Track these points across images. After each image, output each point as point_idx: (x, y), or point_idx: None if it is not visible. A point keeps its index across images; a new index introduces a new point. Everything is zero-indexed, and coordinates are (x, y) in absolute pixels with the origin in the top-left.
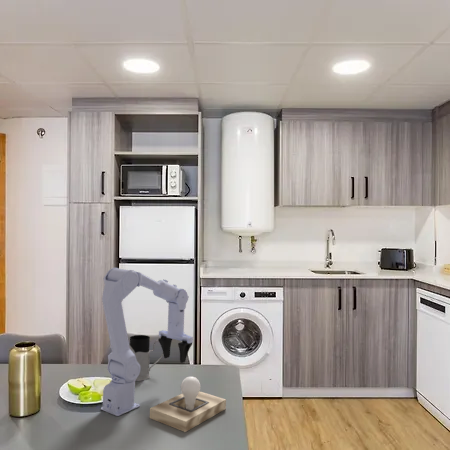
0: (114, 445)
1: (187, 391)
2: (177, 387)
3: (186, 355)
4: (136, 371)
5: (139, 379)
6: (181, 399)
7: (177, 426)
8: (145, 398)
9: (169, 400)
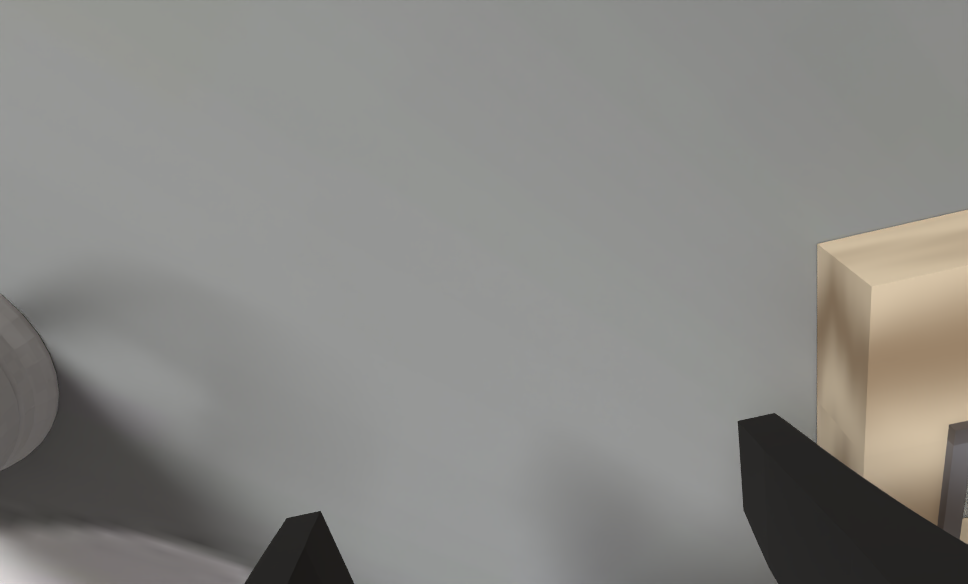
0: None
1: None
2: (479, 198)
3: (869, 496)
4: None
5: (46, 420)
6: (958, 507)
7: None
8: (519, 546)
9: None
